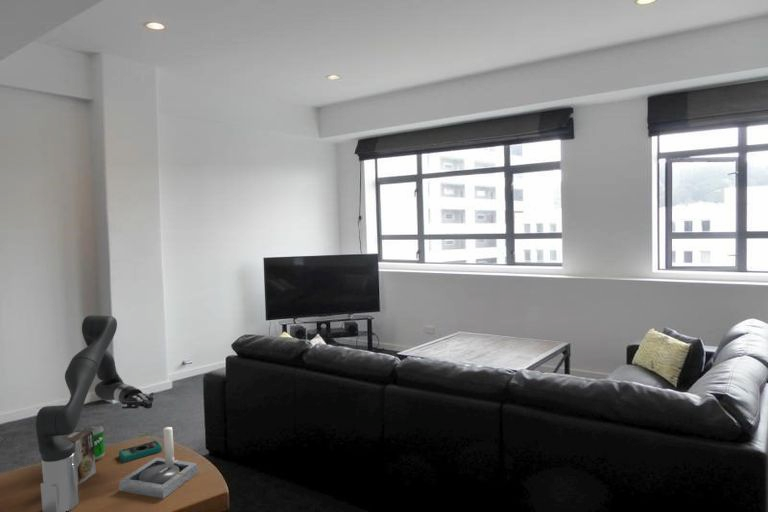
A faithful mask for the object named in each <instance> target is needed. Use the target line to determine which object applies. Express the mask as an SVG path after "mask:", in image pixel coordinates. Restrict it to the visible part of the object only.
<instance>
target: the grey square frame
mask: <svg viewBox="0 0 768 512" xmlns="http://www.w3.org/2000/svg"><path fill="white" fill-rule="evenodd" d="M163 464H165V457H164V458H163V457H154V458H153V459H151V460H150V461H149V462H146V463H145V464H144V465H141V466H140V467H139V468H137V469H136V470H134V471H133V472H131V473H129V474H127V476H125V477H123V478H122V479H119V481H118V483H119V486H118V488H119V491H120V492H124V491H125V492H126V493H131V494H135V495H136V494H137V495H140V496H141V495H142V496H147V497H151V498H152V497H153V498H159V499H165V498H167V496H169V495H170V494H171V493H173V492H174V491H175V490H177V489H178V488H179V487H181V486H182V485H183V484H185V483H186V482H188V481H189V480H190V479H192V478H193V477H195V475H196V473H197V474H198V473H199V466H198V463H197V462H190V461H184V460H183V461H182V460H178V459H174V464H175V465H176V466H178V467H179V471H180V472H179V473H178V474H176V475H175V476H174V477H172V478H171V479H169V480H168V481H167V482H165V483H164V484H163V485H161V484H155V483H149V482H143V481H139V476H140V474H141V473H142V472H143V471H145V470H146V469H148V468H151V467H154V466H157V465H163ZM125 492H124V493H125Z"/></svg>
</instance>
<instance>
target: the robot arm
mask: <svg viewBox="0 0 768 512" xmlns="http://www.w3.org/2000/svg"><path fill="white" fill-rule="evenodd" d="M81 323H82V324H81V334H82V336H83V337H82V338H83V340H84V342H85V344H86V347H84V348H83V349H81V350H80V351H78V352H77V353H76V354H75V355H74V356H73V357H72V358H71V359H70V362H69V364H68V366H67V368H66V370H65V373H64V380H65V384H66V386H67V388H68V391H69V394H70V397H69V400H68V402H67V404H62V405H61V404H60V405H46V406H43V407H41V408H40V409H39V410H38V412H37V414H36V418H35V432H36V438H37V445H38V451H39V454H40V458H41V470H42V471H41V473H42V481H43V482H42V483H40V486H39V487H40V497H41V508H42V512H66V511H67V512H70V511H71V510H73V509H75V508H76V507H77V506H78V505H79V502H80V501H79V499H80V498H79V489H78V488H79V487H78V486H79V485H77V472H76V458H75V446H74V444H73V443H72V442H71V441H68V440H65V439H63V438H64V437H63V438H62V437H61V436H68V435H69V434H71V433H73V432H74V431H76V430H75V429H76V428H77V425H78V424H79V421H80V418H81V414H82V411H83V408H84V405H85V401H86V399H87V396H88V393H89V391H90V388H91V387H92V384H93V382H94V380H95V378H96V376H97V379H98V380H100V382H98V383H97V384H96V385H95V386H94V393H95V395H96V396H97V397H98V398H99V399H101V400H104V401H116V402H117V403H118V404H121V408H122V409H125V410H126V409H139V408H143V409H147V410H148V409H151V408H152V407H153V402H154V401H155V392H150V393H149V394H147V393H143V391H142V390H141V389H140V388H138V387H135V386H133V385H131V384H126V383H124V381H123V379H122V378H121V377H120V374H119V373H118V371H117V367H116V361H115V359H114V357H113V355H112V354H111V352H109V350H108V347H109V346H110V344H111V342H112V341H113V339H114V337H115V335H116V332H117V327H118V322H117V319H116V318H115V317H114V316H111V315H96V314H95V315H94V314H93V315H92V314H91V315H87V316H85V317H84V319H83V321H82V322H81Z"/></svg>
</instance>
